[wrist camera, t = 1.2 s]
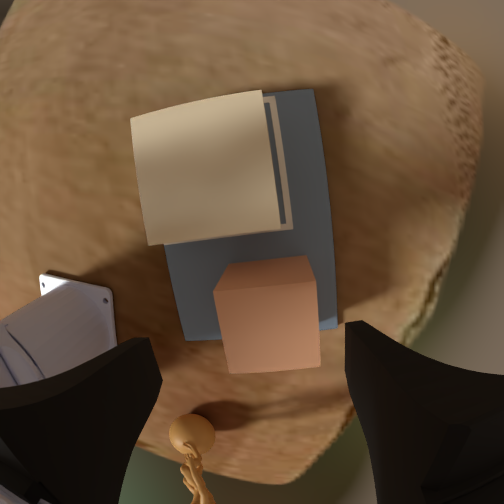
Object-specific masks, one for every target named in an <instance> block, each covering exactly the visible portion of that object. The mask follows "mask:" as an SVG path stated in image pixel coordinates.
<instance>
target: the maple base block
mask: <svg viewBox="0 0 504 504" xmlns="http://www.w3.org/2000/svg"><path fill="white" fill-rule="evenodd" d="M130 119H131V130H132V140H133V150H134V158H135V166H136V174H137V181H138V188H139V195H140V201H141V207H142V213H143V219H144V225H145V230H146V236H147V241H148V246H151V245H158V244H165V243H173V242H180V241H188V240H195V239H203V238H211V237H219V236H226V235H234V234H242V233H251V232H259V231H267V230H276V229H281V223H280V214H279V206H278V198H277V190H276V183H275V175H274V168H273V161H272V154H271V147H270V140H269V133H268V126H267V120H266V113H265V107H264V101H263V96H262V90H255V91H248V92H242V93H236V94H230V95H224V96H219V97H214V98H209V99H204V100H199V101H194V102H190V103H186V104H181V105H177V106H173V107H169V108H165V109H162V110H158V111H154V112H151V113H147V114H144V115H140V116H137V117H134V118H130Z"/></svg>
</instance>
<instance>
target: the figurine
mask: <svg viewBox="0 0 504 504" xmlns="http://www.w3.org/2000/svg"><path fill="white" fill-rule="evenodd" d="M169 436H170V440H171V443H172V444H173V446H174V447H175V448H176V449H177V450H178V451H179V452H181V453H183V454H185V455H184V456H185V459H186V461H187V463H186V462H184V464H183V465H182V467H181V468H180V470H181V473H182V474H183V475H184V476H185V477H184V479H183V482H184V484H186V485H187V487H188V489H189V490H190V491H191V492H192V493H193V494H194V498H193V501H192V503H191V504H216V503H215V501H214V500H213V496H212V494H211V493H210V492H209V491H208V489H207V488H206V487H205V482H204V480H203V478H202V476H201V475H202V469H203V466H202V464H201V460H202V457H201V455H202V454H204V453H206V452H208V451H209V450H210V449H211V448H212V446H213V444H214V442H215V430H214V428H213V426H212V424H211V423H210V422H209V421H208V420H207V419H206V418H204V417H202V416H200V415H197V414H185V415H182V416H180V417H178V418H177V419H176V420H175V421H174V422H173V423H172V425H171V427H170V431H169ZM195 467H197V469H196V468H195Z"/></svg>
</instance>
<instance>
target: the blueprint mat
mask: <svg viewBox="0 0 504 504" xmlns="http://www.w3.org/2000/svg"><path fill="white" fill-rule="evenodd" d="M262 96H263V101H264V107H265V113H266V120H267V126H268V133H269V140H270V147H271V154H272V161H273V168H274V175H275V183H276V190H277V198H278V206H279V214H280V223H281V229H276V230H267V231H259V232H251V233H242V234H234V235H226V236H219V237H211V238H203V239H195V240H188V241H180V242H173V243H165V244H164V248H165V253H166V259H167V263H168V268H169V273H170V278H171V282H172V287H173V291H174V296H175V300H176V304H177V309H178V313H179V317H180V321H181V325H182V329H183V333H184V337H185V341H196V340H218V339H222V335H221V330H220V325H219V320H218V315H217V310H216V305H215V300H214V295H213V290H214V289H215V287H216V285H217V283H218V282H219V280H220V278H221V276H222V275H223V273H224V271H225V269H226V268H227V266H228V264H231V263H240V262H249V261H258V260H267V259H276V258H285V257H294V256H303V255H307V258H308V261H309V263H310V266H311V268H312V271H313V274H314V277H315V279H316V286H317V301H318V318H319V330H327V329H335V328H338V323H337V293H336V273H335V257H334V243H333V231H332V220H331V210H330V200H329V191H328V182H327V174H326V166H325V159H324V152H323V145H322V138H321V131H320V125H319V119H318V113H317V107H316V102H315V96H314V91H313V89H303V90H291V91H281V92H273V93H265V94H262Z"/></svg>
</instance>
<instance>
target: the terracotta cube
mask: <svg viewBox="0 0 504 504" xmlns="http://www.w3.org/2000/svg"><path fill="white" fill-rule="evenodd" d="M213 295H214V300H215V305H216V310H217V315H218V320H219V325H220V330H221V335H222V340H223V345H224V350H225V354H226V359H227V363H228V368H229V373H230V374H239V373H257V372H271V371H283V370H294V369H303V368H312V367H320V366H321V365H320V338H319V318H318V301H317V286H316V279H315V277H314V274H313V271H312V268H311V266H310V263H309V261H308V258H307V255H303V256H294V257H285V258H276V259H267V260H258V261H249V262H240V263H231V264H228V266H227V268H226V269H225V271H224V273H223V275H222V276H221V278H220V280H219V282H218V283H217V285H216V287H215V289H214V290H213Z"/></svg>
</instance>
